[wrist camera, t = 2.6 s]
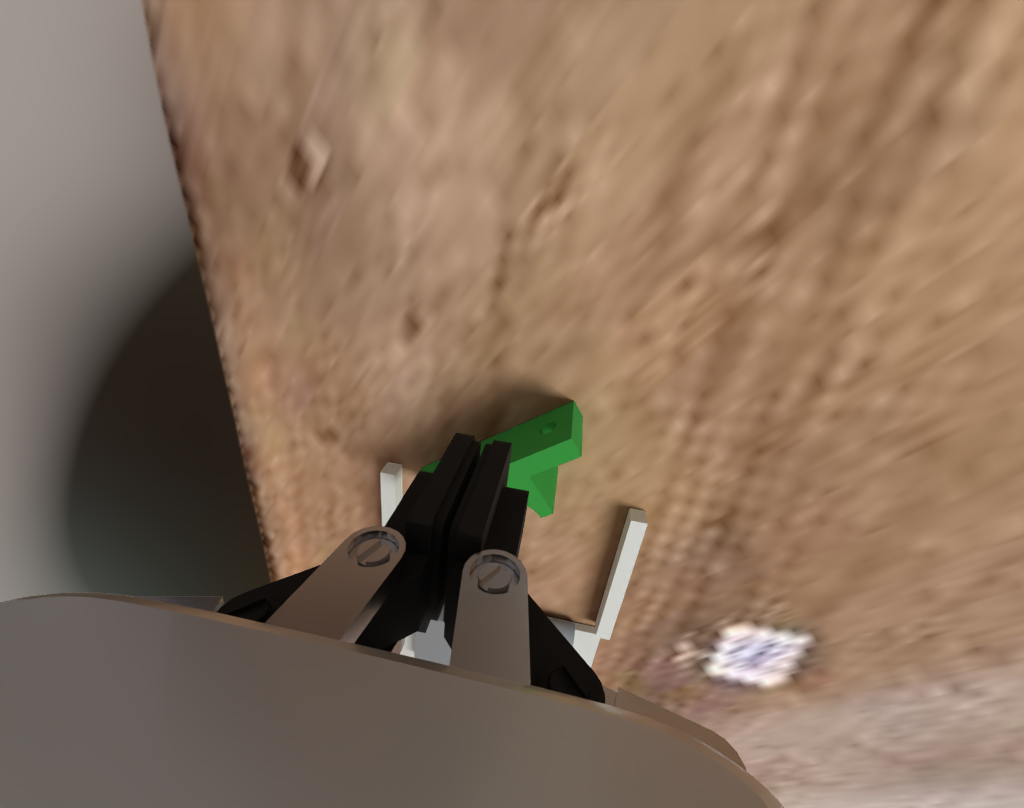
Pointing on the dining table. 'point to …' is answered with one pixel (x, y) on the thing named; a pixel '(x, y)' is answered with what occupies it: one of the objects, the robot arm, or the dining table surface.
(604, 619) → the hinge base
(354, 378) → the dining table surface
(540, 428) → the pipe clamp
